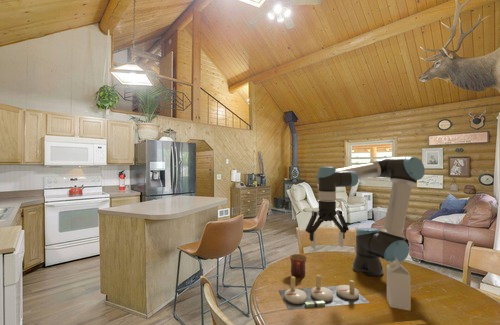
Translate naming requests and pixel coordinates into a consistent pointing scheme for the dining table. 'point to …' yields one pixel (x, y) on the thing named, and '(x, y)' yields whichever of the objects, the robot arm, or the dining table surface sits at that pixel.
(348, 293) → the knob
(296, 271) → the mug
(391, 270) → the milk carton
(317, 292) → the knob middle
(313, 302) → the base plate
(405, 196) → the robot arm
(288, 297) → the knob
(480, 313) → the dining table surface
